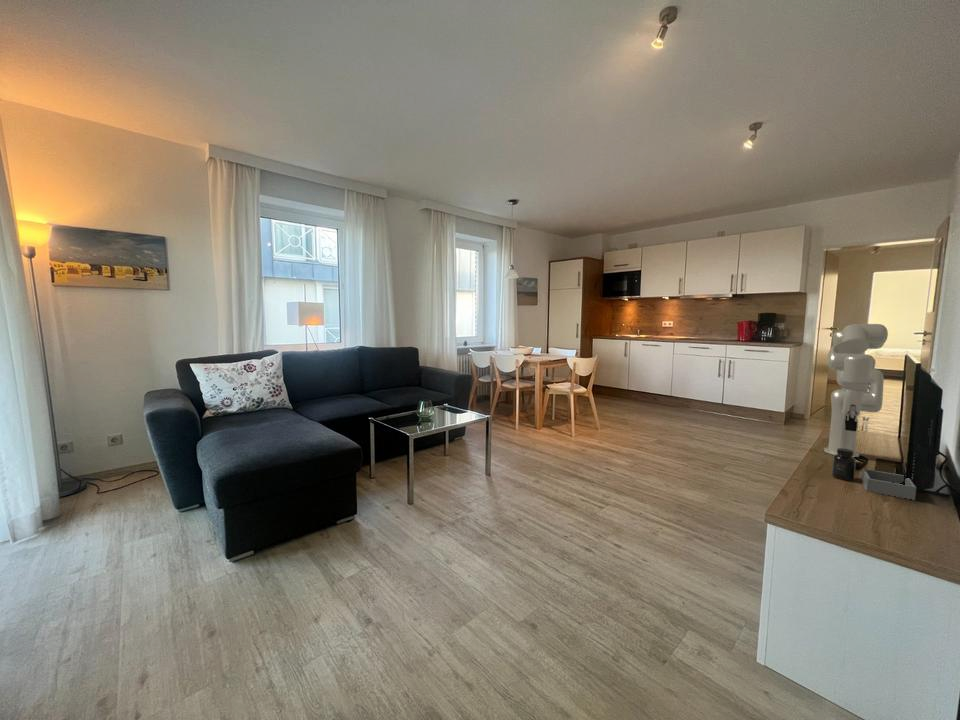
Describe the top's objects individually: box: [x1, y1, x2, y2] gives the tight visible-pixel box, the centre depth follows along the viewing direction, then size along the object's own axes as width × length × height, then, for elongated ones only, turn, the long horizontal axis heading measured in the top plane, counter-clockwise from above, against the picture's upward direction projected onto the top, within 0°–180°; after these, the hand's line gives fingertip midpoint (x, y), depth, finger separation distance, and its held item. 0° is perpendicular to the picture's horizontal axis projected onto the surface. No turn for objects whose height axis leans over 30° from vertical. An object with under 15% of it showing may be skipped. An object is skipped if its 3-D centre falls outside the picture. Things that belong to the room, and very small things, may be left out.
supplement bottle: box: [831, 448, 857, 482], centre depth 160 cm, size 7×7×12 cm
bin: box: [860, 468, 917, 501], centre depth 150 cm, size 13×13×5 cm
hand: (850, 428), depth 157 cm, fingers open, 9 cm apart
